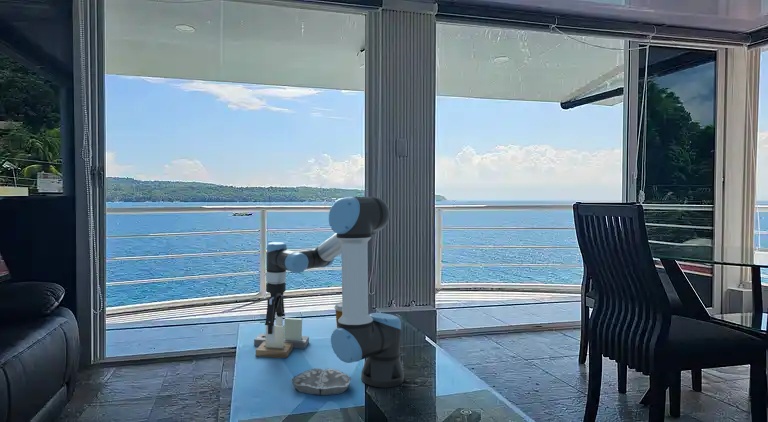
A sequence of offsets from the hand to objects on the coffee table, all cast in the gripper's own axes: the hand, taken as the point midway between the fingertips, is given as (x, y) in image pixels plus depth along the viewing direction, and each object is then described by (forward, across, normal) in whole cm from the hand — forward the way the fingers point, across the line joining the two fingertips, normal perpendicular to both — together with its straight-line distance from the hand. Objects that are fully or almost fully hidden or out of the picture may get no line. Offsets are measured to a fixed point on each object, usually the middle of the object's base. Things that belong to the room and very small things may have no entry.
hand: (274, 336), depth 206 cm
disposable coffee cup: (+7, -34, +22) cm, 41 cm away
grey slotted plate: (+6, -10, 0) cm, 12 cm away
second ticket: (+6, -10, +5) cm, 13 cm away
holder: (+6, 0, 0) cm, 6 cm away
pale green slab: (+6, 0, 0) cm, 6 cm away
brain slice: (+7, +28, +24) cm, 37 cm away
